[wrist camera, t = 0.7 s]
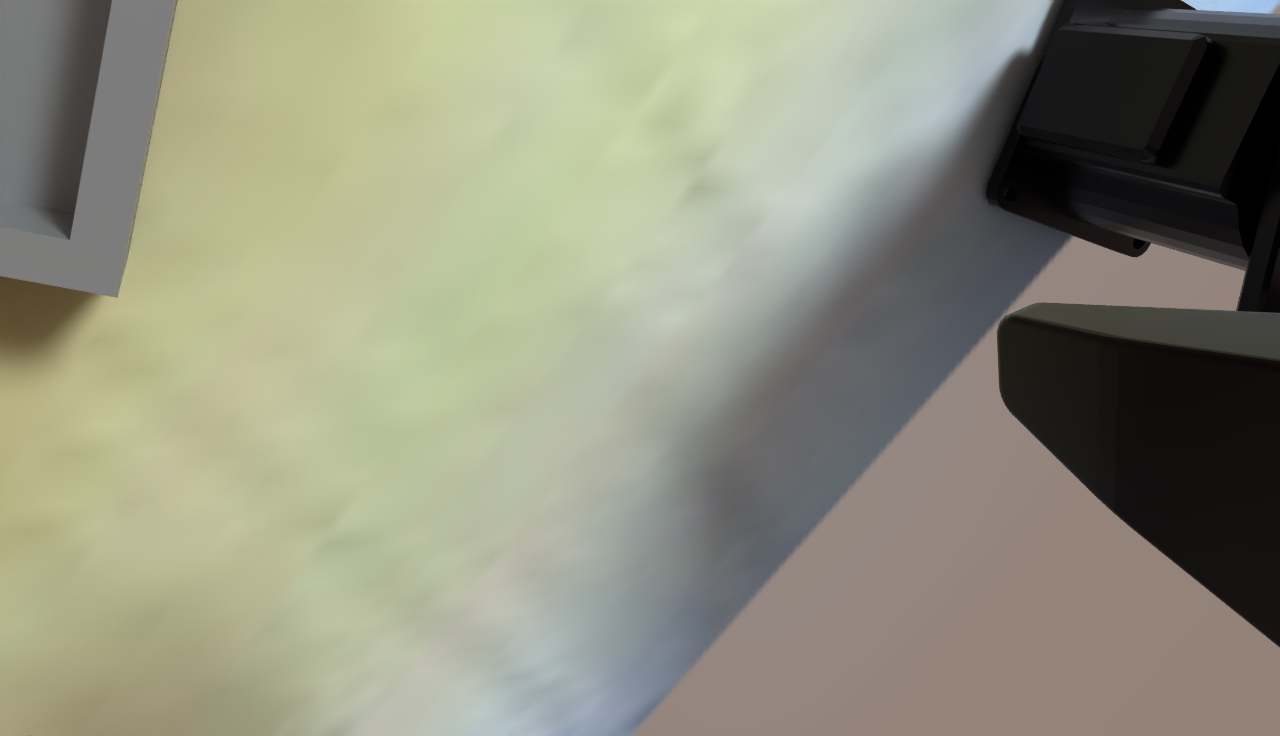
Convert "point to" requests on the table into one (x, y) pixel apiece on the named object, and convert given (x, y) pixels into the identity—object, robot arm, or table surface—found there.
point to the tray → (76, 134)
